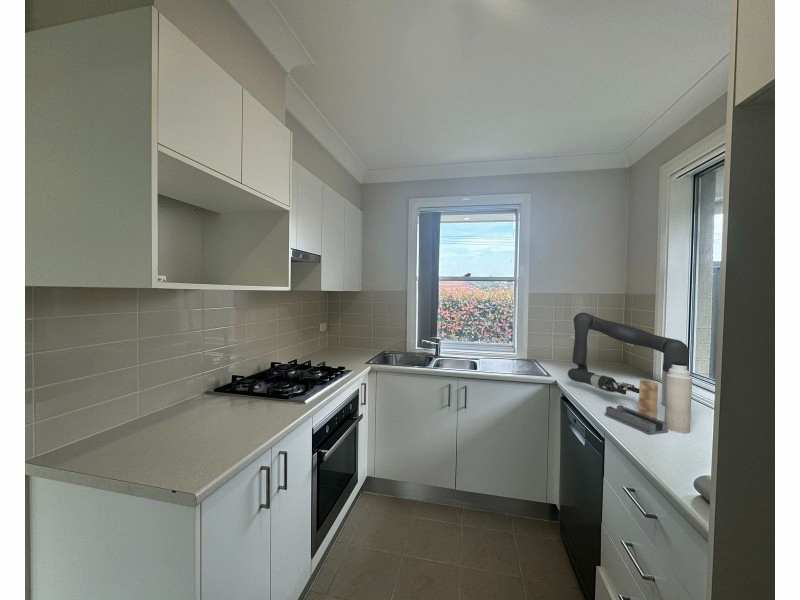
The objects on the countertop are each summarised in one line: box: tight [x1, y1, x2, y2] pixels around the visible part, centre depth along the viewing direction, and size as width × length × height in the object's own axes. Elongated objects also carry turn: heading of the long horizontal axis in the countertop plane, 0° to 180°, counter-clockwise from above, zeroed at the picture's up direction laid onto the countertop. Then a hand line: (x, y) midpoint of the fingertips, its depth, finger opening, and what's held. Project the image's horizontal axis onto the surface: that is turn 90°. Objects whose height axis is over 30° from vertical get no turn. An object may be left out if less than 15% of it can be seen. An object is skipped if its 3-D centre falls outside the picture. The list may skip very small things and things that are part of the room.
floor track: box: [604, 404, 669, 436], centre depth 135 cm, size 20×10×4 cm, turn 15°
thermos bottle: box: [664, 361, 693, 434], centre depth 130 cm, size 8×8×28 cm
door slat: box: [638, 379, 659, 419], centre depth 143 cm, size 6×3×16 cm, turn 15°
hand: (632, 391), depth 150 cm, fingers open, 8 cm apart
